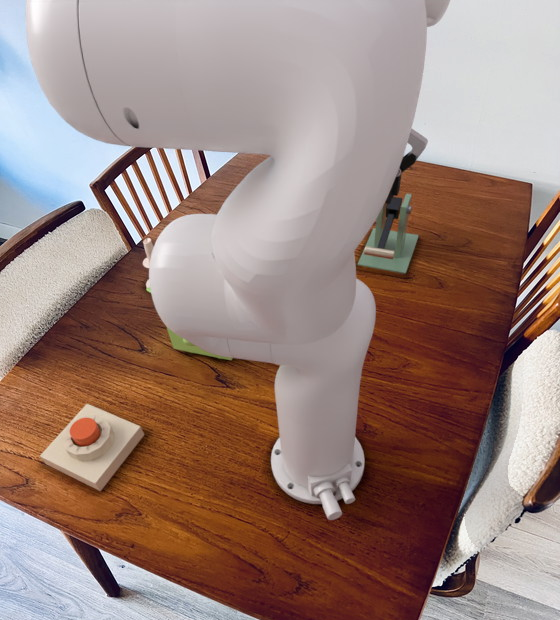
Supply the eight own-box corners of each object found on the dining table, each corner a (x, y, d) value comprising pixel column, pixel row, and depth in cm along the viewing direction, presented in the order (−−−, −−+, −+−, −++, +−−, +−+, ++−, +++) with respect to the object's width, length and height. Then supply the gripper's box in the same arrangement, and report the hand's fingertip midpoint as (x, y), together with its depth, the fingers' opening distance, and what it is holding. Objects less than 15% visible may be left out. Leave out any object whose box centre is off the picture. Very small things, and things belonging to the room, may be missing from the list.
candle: (147, 296, 96) (131, 249, 88) (146, 278, 99) (130, 232, 91) (175, 290, 96) (162, 243, 88) (173, 273, 100) (160, 226, 92)
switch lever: (392, 262, 88) (393, 254, 86) (364, 257, 90) (363, 249, 88) (409, 208, 93) (410, 199, 91) (381, 204, 94) (382, 195, 92)
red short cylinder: (105, 430, 72) (101, 422, 71) (88, 450, 70) (84, 443, 69) (85, 421, 73) (81, 413, 72) (68, 440, 71) (63, 433, 70)
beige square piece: (144, 434, 76) (137, 418, 73) (100, 491, 70) (90, 476, 67) (91, 411, 79) (82, 395, 76) (45, 464, 73) (33, 449, 70)
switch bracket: (405, 277, 95) (413, 221, 86) (357, 269, 97) (360, 213, 88) (418, 240, 102) (427, 184, 93) (373, 232, 104) (377, 177, 95)
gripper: (283, 63, 60) (289, 198, 73) (433, 74, 56) (411, 217, 68) (305, 42, 65) (307, 173, 78) (445, 51, 60) (423, 189, 73)
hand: (355, 193), depth 73 cm, fingers open, 9 cm apart
